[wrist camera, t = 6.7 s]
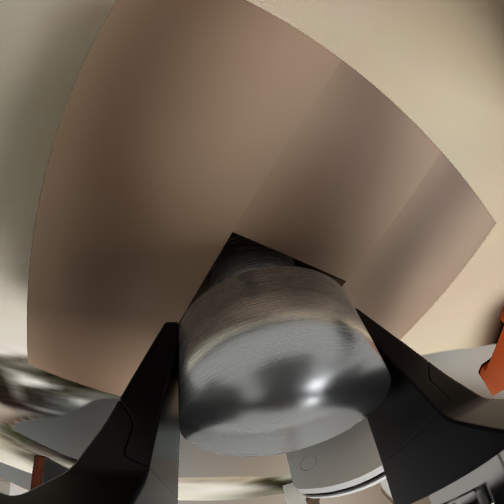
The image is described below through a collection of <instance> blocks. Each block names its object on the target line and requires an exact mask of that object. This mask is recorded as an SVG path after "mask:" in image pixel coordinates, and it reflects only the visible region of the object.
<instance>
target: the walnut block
mask: <svg viewBox="0 0 504 504" xmlns="http://www.w3.org/2000/svg"><path fill="white" fill-rule="evenodd" d="M495 224H496V222H495V220H494V219H493V217H492V216H491V214H490V213H489V211H488V210H487V209H486V207H485V206H484V204H483V203H482V202H481V200H480V199H479V197H478V196H477V195H476V193H475V192H474V191H473V189H472V188H471V187H470V185H469V184H468V183H467V182H466V180H465V179H464V178H463V177H462V175H461V174H460V173H459V172H458V170H457V169H456V168H455V167H454V166H453V164H452V163H451V162H450V161H449V160H448V159H447V157H446V156H445V155H444V154H443V153H442V152H441V151H440V149H439V148H438V147H437V146H436V145H435V144H434V143H433V142H432V141H431V140H430V139H429V137H428V136H427V135H426V134H425V133H424V132H423V131H422V130H421V129H420V128H419V127H418V126H417V125H416V124H415V123H414V122H413V121H412V120H411V119H410V118H409V117H408V116H407V115H406V114H405V113H404V112H403V111H402V110H401V109H400V108H399V107H397V106H396V105H395V104H394V103H393V102H392V101H391V100H390V99H389V98H388V97H387V96H385V95H384V94H383V93H382V92H381V91H380V90H379V89H377V88H376V87H375V86H374V85H373V84H372V83H370V82H369V81H368V80H367V79H366V78H364V77H363V76H362V75H361V74H359V73H358V72H357V71H356V70H354V69H353V68H352V67H350V66H349V65H348V64H347V63H345V62H344V61H343V60H341V59H340V58H339V57H337V56H336V55H335V54H333V53H332V52H330V51H329V50H328V49H326V48H325V47H323V46H322V45H320V44H319V43H317V42H316V41H315V40H313V39H312V38H310V37H309V36H307V35H305V34H304V33H302V32H301V31H299V30H298V29H296V28H294V27H293V26H291V25H290V24H288V23H286V22H285V21H283V20H281V19H279V18H278V17H276V16H274V15H272V14H271V13H269V12H267V11H265V10H263V9H262V8H260V7H258V6H256V5H254V4H252V3H250V2H248V1H246V0H117V2H116V3H115V5H114V7H113V8H112V10H111V12H110V13H109V15H108V17H107V18H106V20H105V22H104V24H103V26H102V27H101V29H100V31H99V33H98V35H97V37H96V39H95V41H94V43H93V45H92V47H91V49H90V51H89V53H88V55H87V57H86V59H85V61H84V63H83V66H82V68H81V70H80V72H79V75H78V77H77V79H76V82H75V84H74V86H73V89H72V91H71V94H70V97H69V99H68V102H67V104H66V107H65V110H64V113H63V116H62V118H61V121H60V124H59V127H58V130H57V134H56V137H55V140H54V143H53V147H52V150H51V154H50V157H49V161H48V165H47V169H46V173H45V177H44V181H43V185H42V190H41V195H40V199H39V204H38V210H37V215H36V221H35V227H34V234H33V241H32V249H31V258H30V268H29V280H28V298H27V351H28V364H30V365H32V366H34V367H37V368H39V369H42V370H44V371H46V372H49V373H52V374H54V375H57V376H59V377H62V378H65V379H68V380H70V381H73V382H76V383H79V384H82V385H85V386H88V387H91V388H94V389H97V390H101V391H104V392H107V393H111V394H114V395H118V396H122V394H123V392H124V390H125V389H126V387H127V385H128V384H129V382H130V380H131V378H132V377H133V375H134V373H135V372H136V370H137V368H138V367H139V365H140V363H141V362H142V360H143V358H144V356H145V355H146V353H147V351H148V350H149V348H150V346H151V345H152V343H153V341H154V340H155V338H156V337H157V335H158V333H159V332H160V330H161V328H162V327H163V325H164V324H165V323H166V322H178V324H179V327H180V324H181V321H182V319H183V317H184V315H185V313H186V311H187V310H188V309H189V307H190V306H191V305H192V304H193V302H194V301H195V300H196V299H197V298H198V297H199V296H201V295H202V294H203V293H204V292H206V291H207V290H208V289H210V287H209V273H208V272H209V270H210V269H211V267H212V265H213V264H214V262H215V260H216V259H217V257H218V255H219V253H220V252H221V250H222V248H223V247H224V245H225V243H226V242H227V240H228V238H229V237H230V235H231V233H232V232H234V233H236V234H239V235H241V236H243V237H246V238H248V239H250V240H253V241H255V242H257V243H260V244H262V245H264V246H267V247H269V248H271V249H274V250H276V251H278V252H281V253H283V254H285V255H288V256H290V257H292V259H293V262H294V264H295V266H296V267H302V268H307V269H312V270H315V271H318V272H321V273H323V274H325V275H327V276H329V277H331V278H332V279H333V280H335V281H336V282H337V283H338V284H339V285H340V286H341V287H342V288H343V289H344V291H345V292H346V294H347V296H348V297H349V299H350V301H351V303H352V304H353V306H354V308H356V309H359V310H360V311H361V312H363V313H364V314H365V315H367V316H368V317H369V318H371V319H372V320H374V321H375V322H376V323H378V324H379V325H380V326H382V327H383V328H384V329H386V330H387V331H388V332H390V333H391V334H392V335H394V336H395V337H396V338H398V339H399V340H400V339H401V338H402V337H403V336H404V335H405V334H406V333H407V332H408V331H409V330H410V329H411V328H412V327H413V326H414V325H415V324H416V323H417V322H418V321H419V320H420V319H421V318H422V317H423V315H424V314H425V313H426V312H427V311H428V310H429V309H430V308H431V307H432V306H433V304H434V303H435V302H436V301H437V300H438V299H439V298H440V296H441V295H442V294H443V293H444V292H445V291H446V289H447V288H448V287H449V286H450V285H451V283H452V282H453V281H454V280H455V278H456V277H457V276H458V275H459V273H460V272H461V271H462V270H463V268H464V267H465V266H466V265H467V263H468V262H469V261H470V259H471V258H472V257H473V255H474V254H475V253H476V251H477V250H478V249H479V247H480V246H481V244H482V243H483V242H484V240H485V239H486V237H487V236H488V234H489V233H490V232H491V230H492V229H493V227H494V226H495Z"/></svg>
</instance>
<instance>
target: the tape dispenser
mask: <svg viewBox="0 0 504 504" xmlns="http://www.w3.org/2000/svg"><path fill="white" fill-rule="evenodd" d="M500 320H501V321H502V322H503V323H504V308H503V312H502V315H501V318H500ZM478 373H479V375H480V376H481V378H482V379H483V381H484V382H485V384H486V386H487V387H488V389H489V391H490V392H491V394H492V395H494V394H496V393H498V392H500V391H502V390H504V326H503V329H502V332H501V335H500V337H499V340H498V342H497V345H496V348H495V350H494V353H493V355H492V357H491V358H490V359H489V360H487V361H486V362H485V363H483V364H482V365H481V367H480V369H479V372H478Z"/></svg>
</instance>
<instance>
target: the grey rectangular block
mask: <svg viewBox="0 0 504 504" xmlns="http://www.w3.org/2000/svg"><path fill="white" fill-rule="evenodd" d="M0 492H1V493H3V494H6V495H20V494H23V493H26V492H28V491H27V490H25V489H23V488H21V487H20V486H17V485H15V484H13V483H11V482H8V481H7V482H6V481H2V480H0Z"/></svg>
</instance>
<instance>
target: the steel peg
mask: <svg viewBox="0 0 504 504" xmlns="http://www.w3.org/2000/svg"><path fill="white" fill-rule="evenodd" d="M208 273H209V287H210V289H208V290H207V291H206V292H204V293H203V294H202V295H201V296H199V297H198V298H197V299H196V300H195V301H194V302H193V304H192V305H191V306H190V307H189V309H188V310H187V311H186V313H185V315H184V317H183V319H182V321H181V324H180V327H179V333H178V408H179V429H180V432H181V434H182V435H183V437H184V438H185V439H186V440H187V441H188V442H190V443H191V444H193V445H194V446H196V447H198V448H200V449H203V450H206V451H209V452H213V453H217V454H222V455H228V456H245V457H247V456H248V457H249V456H266V455H274V454H281V453H286V452H291V451H295V450H299V449H303V448H306V447H309V446H312V445H315V444H318V443H321V442H323V441H326V440H328V439H330V438H333V437H335V436H337V435H339V434H341V433H343V432H344V431H346V430H348V429H350V428H351V427H353V426H355V425H356V424H358V423H359V422H361V421H362V420H363V419H364V418H366V417H367V416H368V415H369V414H371V413H372V412H373V411H374V410H375V409H376V408H377V407H378V406H379V405H380V403H381V402H382V401H383V399H384V398H385V396H386V395H387V393H388V391H389V388H390V384H391V376H390V373H389V371H388V369H387V367H386V365H385V363H384V361H383V359H382V357H381V355H380V354H379V352H378V350H377V348H376V346H375V344H374V342H373V341H372V339H371V337H370V335H369V333H368V331H367V329H366V328H365V326H364V324H363V322H362V320H361V319H360V317H359V315H358V313H357V311H356V310H355V308H354V306H353V304H352V303H351V301H350V299H349V297H348V296H347V294H346V292H345V291H344V289H343V288H342V287H341V286H340V285H339V284H338V283H337V282H336V281H335V280H333V279H332V278H331V277H329V276H327V275H325V274H323V273H321V272H318V271H315V270H312V269H307V268H302V267H296V266H295V264H294V262H293V259H292V257H290V256H288V255H285V254H283V253H281V252H278V251H276V250H274V249H271V248H269V247H267V246H264V245H262V244H260V243H257V242H255V241H253V240H250V239H248V238H246V237H243V236H241V235H239V234H236V233H234V232H232V233H231V235H230V237H229V238H228V240H227V242H226V243H225V245H224V247H223V248H222V250H221V252H220V253H219V255H218V257H217V259H216V260H215V262H214V264H213V265H212V267H211V269H210V270H209V272H208Z"/></svg>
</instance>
